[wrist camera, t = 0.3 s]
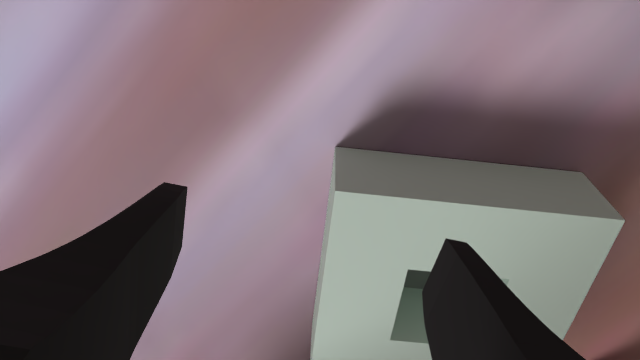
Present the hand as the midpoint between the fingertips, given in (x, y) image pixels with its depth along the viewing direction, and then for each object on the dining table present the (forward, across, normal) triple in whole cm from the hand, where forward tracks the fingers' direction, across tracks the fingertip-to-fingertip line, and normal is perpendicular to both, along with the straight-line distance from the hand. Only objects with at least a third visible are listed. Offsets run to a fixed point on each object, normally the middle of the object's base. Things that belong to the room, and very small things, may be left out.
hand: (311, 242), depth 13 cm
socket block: (+10, -8, +7) cm, 14 cm away
